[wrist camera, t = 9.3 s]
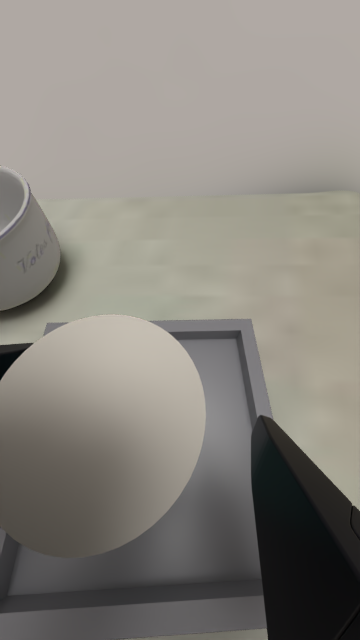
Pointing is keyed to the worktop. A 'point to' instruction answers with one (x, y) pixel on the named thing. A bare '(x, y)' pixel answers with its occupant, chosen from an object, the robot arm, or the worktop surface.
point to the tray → (165, 528)
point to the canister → (96, 435)
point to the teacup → (23, 243)
